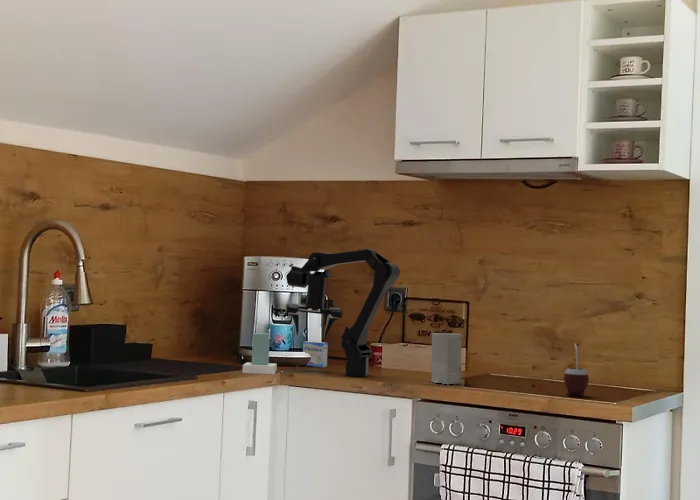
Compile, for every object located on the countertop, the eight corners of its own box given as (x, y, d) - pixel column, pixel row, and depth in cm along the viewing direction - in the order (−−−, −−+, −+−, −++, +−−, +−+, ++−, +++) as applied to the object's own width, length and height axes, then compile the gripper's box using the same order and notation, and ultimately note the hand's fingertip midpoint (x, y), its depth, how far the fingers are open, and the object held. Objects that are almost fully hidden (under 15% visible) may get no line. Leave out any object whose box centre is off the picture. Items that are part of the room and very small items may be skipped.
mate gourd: (576, 398, 281) (578, 345, 281) (556, 394, 287) (557, 343, 288) (594, 397, 285) (595, 345, 285) (573, 393, 291) (575, 343, 292)
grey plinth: (276, 371, 324) (276, 363, 324) (273, 374, 314) (273, 366, 315) (246, 369, 325) (246, 362, 325) (242, 372, 315) (242, 365, 315)
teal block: (253, 363, 322) (254, 332, 322) (268, 364, 322) (269, 333, 322) (251, 364, 317) (252, 333, 318) (267, 365, 317) (268, 334, 318)
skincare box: (448, 385, 300) (450, 334, 301) (428, 383, 305) (430, 332, 305) (462, 383, 307) (464, 333, 308) (442, 381, 311) (444, 331, 312)
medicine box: (301, 366, 345) (302, 341, 346) (306, 365, 350) (307, 340, 350) (323, 367, 343) (324, 342, 343) (327, 366, 347) (328, 342, 348)
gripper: (340, 291, 336) (335, 336, 337) (286, 285, 334) (281, 330, 334) (344, 293, 325) (339, 340, 326) (289, 287, 323) (283, 334, 323)
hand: (310, 336), depth 327 cm, fingers open, 9 cm apart
